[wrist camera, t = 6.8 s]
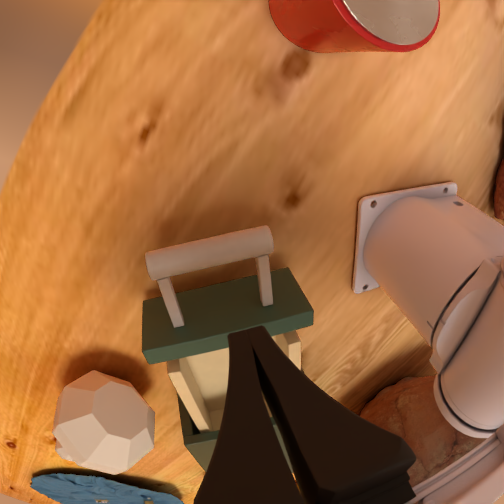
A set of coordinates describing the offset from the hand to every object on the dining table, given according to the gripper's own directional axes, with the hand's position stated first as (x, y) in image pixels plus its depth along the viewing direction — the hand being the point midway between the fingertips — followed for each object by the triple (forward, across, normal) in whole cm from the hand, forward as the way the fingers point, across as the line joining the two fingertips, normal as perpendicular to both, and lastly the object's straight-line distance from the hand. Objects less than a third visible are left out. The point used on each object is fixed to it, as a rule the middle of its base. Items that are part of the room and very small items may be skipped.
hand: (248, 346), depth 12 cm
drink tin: (+9, -8, -13) cm, 17 cm away
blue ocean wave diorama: (+9, +29, +45) cm, 54 cm away
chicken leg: (+9, +15, +14) cm, 23 cm away
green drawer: (+8, +1, +7) cm, 11 cm away
